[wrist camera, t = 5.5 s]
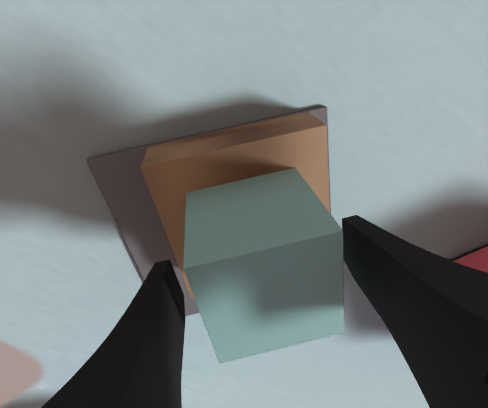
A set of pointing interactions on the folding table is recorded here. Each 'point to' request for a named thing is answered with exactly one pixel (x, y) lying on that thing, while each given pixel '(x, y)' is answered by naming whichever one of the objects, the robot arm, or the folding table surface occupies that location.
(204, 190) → the teal cube
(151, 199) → the mat
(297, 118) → the walnut slab
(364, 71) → the folding table surface
